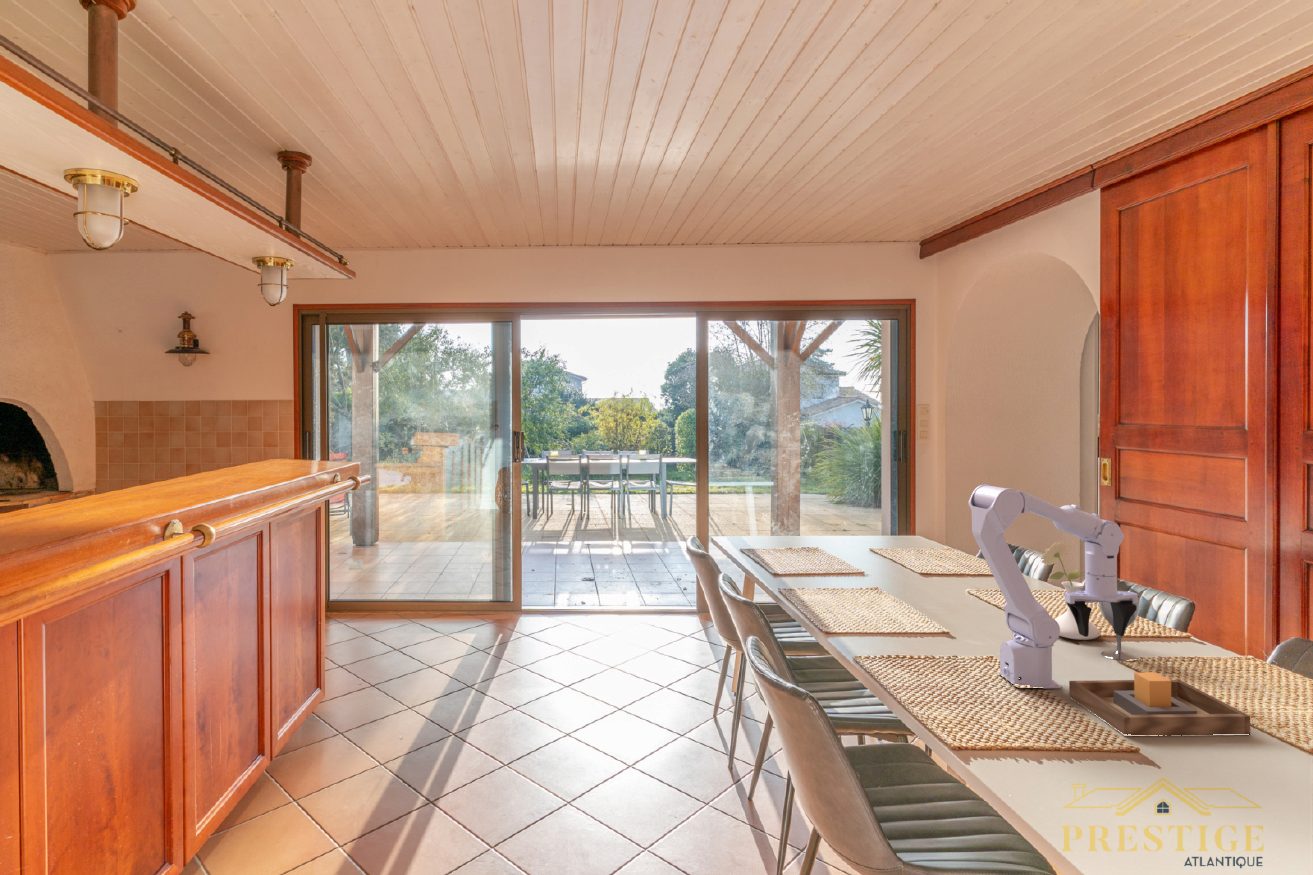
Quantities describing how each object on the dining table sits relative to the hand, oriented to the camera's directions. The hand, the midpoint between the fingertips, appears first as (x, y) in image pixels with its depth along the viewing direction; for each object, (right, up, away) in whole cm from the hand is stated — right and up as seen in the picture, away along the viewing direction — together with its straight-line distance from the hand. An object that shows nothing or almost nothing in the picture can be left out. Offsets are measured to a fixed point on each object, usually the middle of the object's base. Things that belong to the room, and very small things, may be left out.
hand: (1101, 634), depth 139 cm
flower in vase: (+10, -9, +26) cm, 29 cm away
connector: (-2, -10, -17) cm, 20 cm away
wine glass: (+13, -9, +12) cm, 19 cm away
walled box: (-2, -10, -18) cm, 20 cm away
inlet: (-2, -10, -18) cm, 20 cm away
